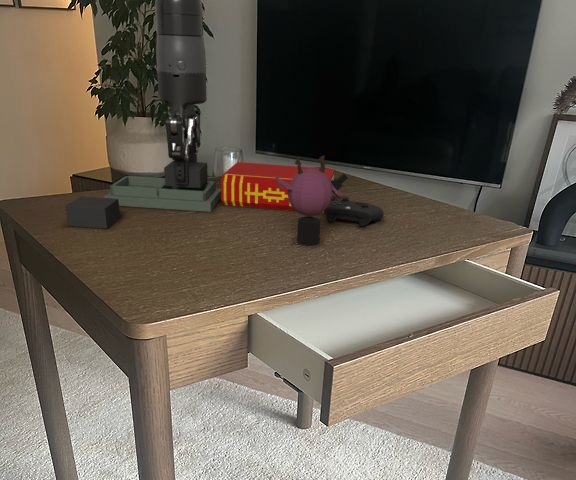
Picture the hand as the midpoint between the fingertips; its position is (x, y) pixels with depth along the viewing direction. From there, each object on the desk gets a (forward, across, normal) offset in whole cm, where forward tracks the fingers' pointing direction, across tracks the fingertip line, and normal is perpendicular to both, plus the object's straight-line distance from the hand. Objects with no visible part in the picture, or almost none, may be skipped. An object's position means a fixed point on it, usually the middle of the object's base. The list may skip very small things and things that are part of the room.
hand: (186, 179), depth 102 cm
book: (+4, -5, +16) cm, 17 cm away
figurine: (+4, +18, +22) cm, 29 cm away
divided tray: (+4, 0, -4) cm, 5 cm away
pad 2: (+1, 0, 0) cm, 1 cm away
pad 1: (+4, +15, -11) cm, 19 cm away
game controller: (+4, +5, +28) cm, 29 cm away
